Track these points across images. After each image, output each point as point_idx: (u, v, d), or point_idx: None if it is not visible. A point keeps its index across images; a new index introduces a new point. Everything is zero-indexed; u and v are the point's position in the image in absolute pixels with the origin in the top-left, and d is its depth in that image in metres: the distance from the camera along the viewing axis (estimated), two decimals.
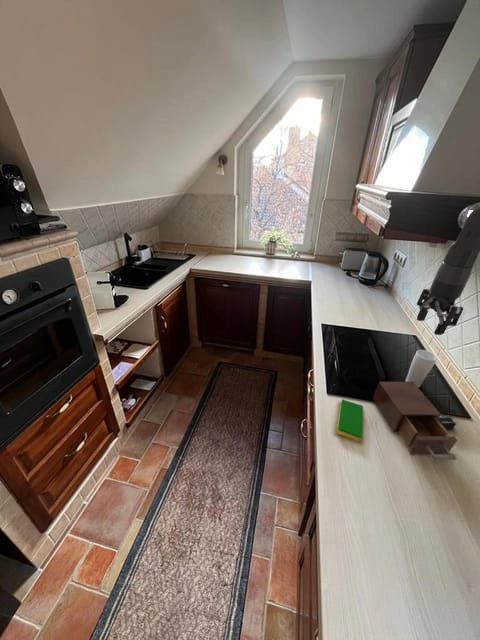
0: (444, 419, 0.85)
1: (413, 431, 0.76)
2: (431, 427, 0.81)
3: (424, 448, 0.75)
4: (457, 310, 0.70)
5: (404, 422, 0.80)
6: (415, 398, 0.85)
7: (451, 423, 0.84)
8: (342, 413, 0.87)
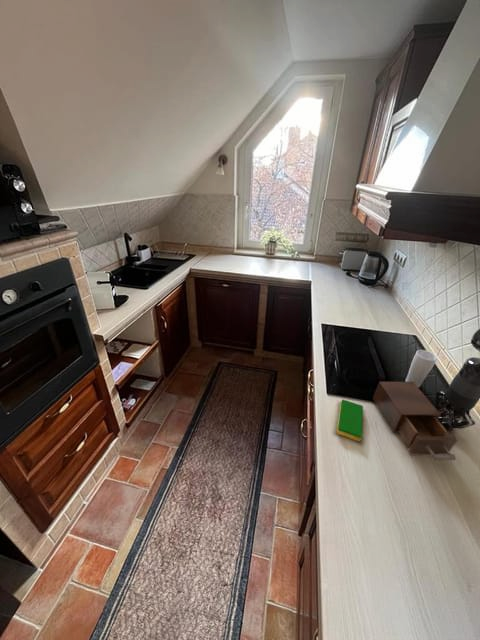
0: (444, 419, 0.85)
1: (413, 431, 0.76)
2: (431, 427, 0.81)
3: (424, 448, 0.75)
4: (468, 424, 0.76)
5: (404, 422, 0.80)
6: (415, 398, 0.85)
7: None
8: (342, 413, 0.87)
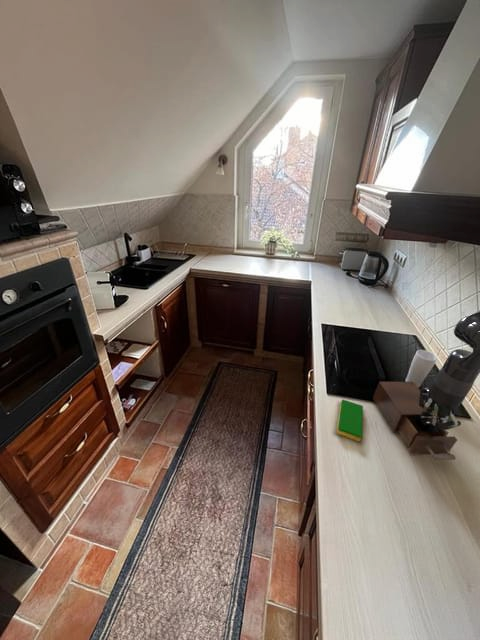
0: (428, 419, 0.77)
1: (413, 431, 0.76)
2: None
3: (424, 448, 0.75)
4: (454, 425, 0.68)
5: (404, 422, 0.80)
6: (415, 398, 0.85)
7: None
8: (342, 413, 0.87)
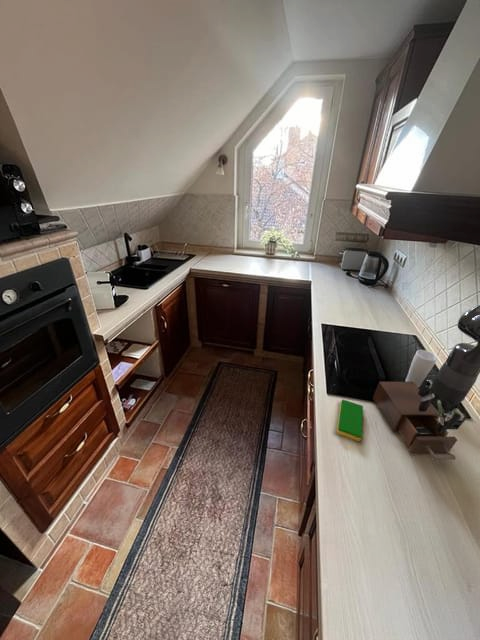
0: (422, 430, 0.79)
1: (413, 431, 0.76)
2: (431, 428, 0.81)
3: (424, 448, 0.75)
4: (460, 418, 0.66)
5: (404, 422, 0.80)
6: (415, 398, 0.85)
7: (429, 434, 0.78)
8: (342, 413, 0.87)
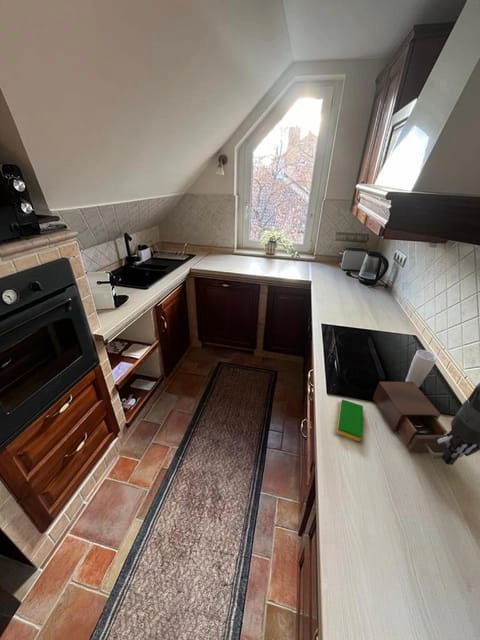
0: (421, 428, 0.79)
1: (412, 430, 0.77)
2: (430, 426, 0.81)
3: (423, 447, 0.75)
4: (437, 442, 0.66)
5: (403, 420, 0.81)
6: (415, 398, 0.85)
7: (428, 432, 0.78)
8: (342, 413, 0.87)
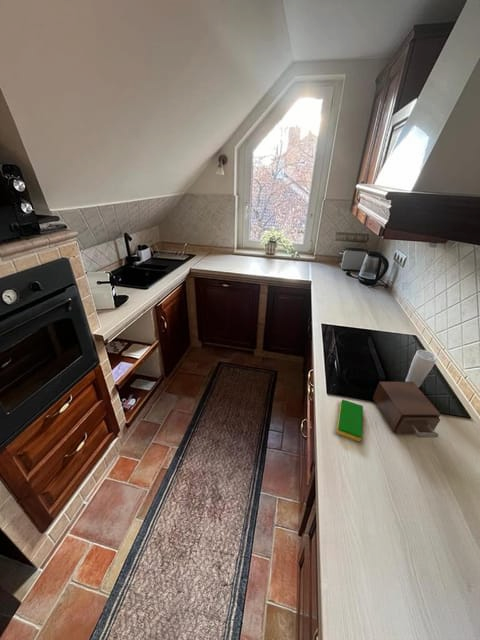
0: None
1: None
2: None
3: (410, 427, 0.81)
4: None
5: None
6: (415, 398, 0.85)
7: None
8: (342, 413, 0.87)
